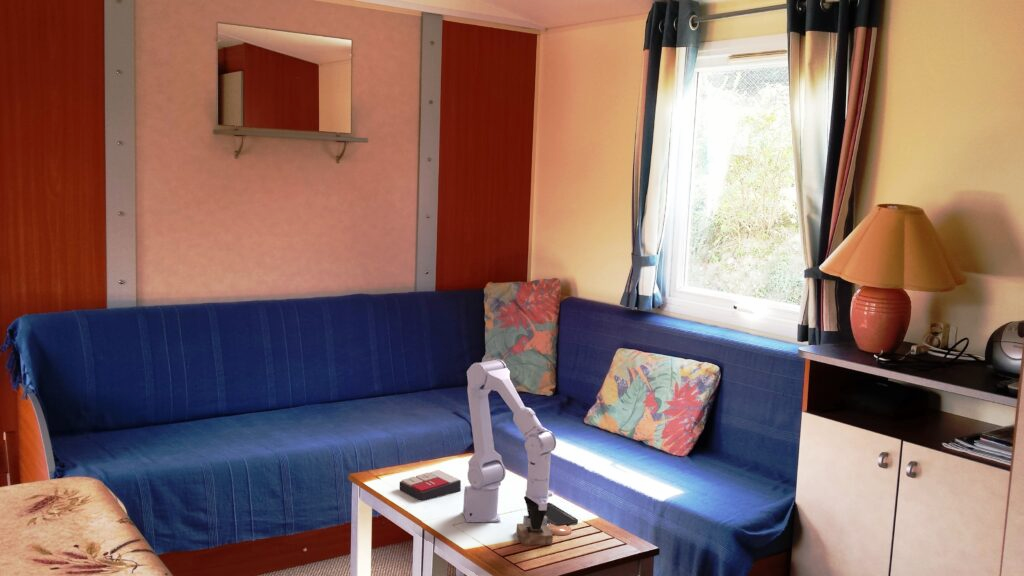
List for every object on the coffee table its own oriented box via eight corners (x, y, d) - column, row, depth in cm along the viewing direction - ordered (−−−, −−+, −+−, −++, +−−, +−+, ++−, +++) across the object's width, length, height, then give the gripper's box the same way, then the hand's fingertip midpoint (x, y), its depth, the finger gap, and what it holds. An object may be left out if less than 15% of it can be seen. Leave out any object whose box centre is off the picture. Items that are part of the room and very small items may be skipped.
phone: (549, 502, 261) (579, 520, 248) (548, 505, 261) (579, 524, 249) (526, 506, 257) (556, 524, 244) (526, 509, 257) (556, 528, 244)
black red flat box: (398, 479, 265) (438, 467, 275) (398, 493, 265) (438, 480, 275) (421, 490, 257) (461, 478, 267) (420, 504, 257) (461, 491, 267)
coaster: (549, 535, 239) (549, 534, 239) (543, 525, 246) (543, 523, 246) (574, 535, 240) (574, 533, 240) (567, 524, 247) (567, 523, 247)
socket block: (522, 545, 232) (523, 536, 231) (516, 532, 240) (516, 523, 239) (552, 544, 233) (552, 535, 233) (545, 531, 241) (545, 523, 241)
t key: (524, 540, 235) (525, 519, 234) (521, 536, 237) (523, 515, 236) (546, 540, 236) (547, 518, 235) (543, 536, 238) (545, 514, 237)
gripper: (559, 486, 228) (556, 537, 230) (546, 467, 242) (543, 515, 244) (532, 487, 226) (529, 537, 228) (521, 467, 241) (518, 515, 242)
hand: (534, 526), depth 236 cm, fingers closed on t key, 3 cm apart
